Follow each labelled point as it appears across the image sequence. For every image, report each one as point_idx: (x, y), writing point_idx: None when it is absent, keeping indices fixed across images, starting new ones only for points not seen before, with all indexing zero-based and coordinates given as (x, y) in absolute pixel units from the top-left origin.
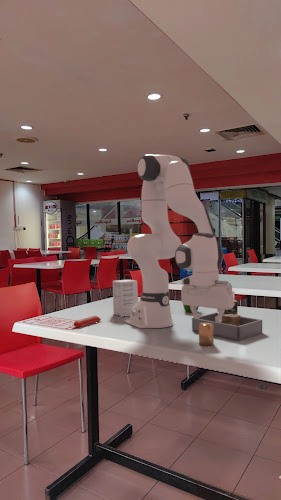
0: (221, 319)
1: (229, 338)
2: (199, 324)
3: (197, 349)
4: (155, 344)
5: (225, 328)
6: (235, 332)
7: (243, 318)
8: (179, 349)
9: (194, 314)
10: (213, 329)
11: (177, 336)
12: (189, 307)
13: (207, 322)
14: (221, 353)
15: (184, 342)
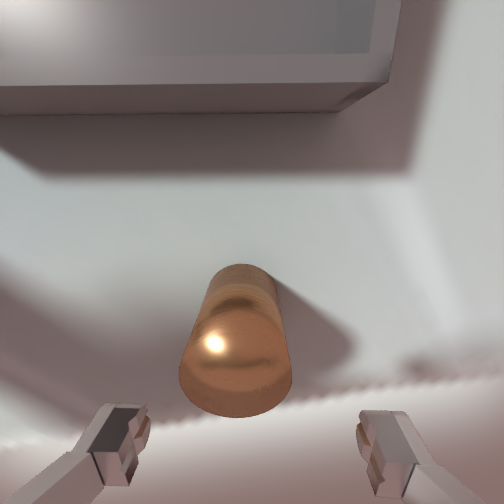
0: (413, 432)
1: (264, 112)
2: (206, 407)
3: None
4: None
5: (226, 94)
6: (326, 99)
7: None
8: None
9: (107, 479)
10: (111, 103)
11: (41, 284)
12: None
13: (3, 90)
14: (366, 346)
15: (152, 333)
